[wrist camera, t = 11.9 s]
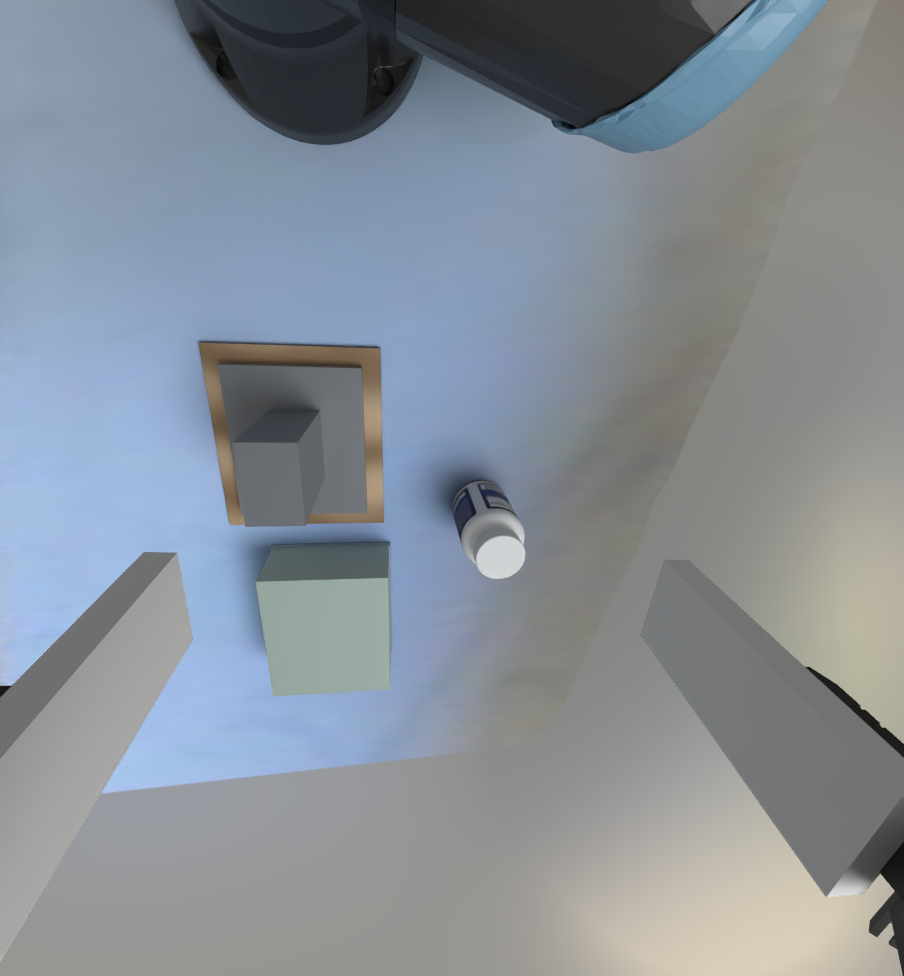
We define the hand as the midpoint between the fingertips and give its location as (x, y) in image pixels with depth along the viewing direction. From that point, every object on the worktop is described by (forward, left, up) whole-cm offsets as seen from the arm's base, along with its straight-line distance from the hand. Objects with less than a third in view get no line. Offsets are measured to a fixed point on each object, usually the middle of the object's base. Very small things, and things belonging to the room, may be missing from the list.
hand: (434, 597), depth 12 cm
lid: (+4, -9, -28) cm, 30 cm away
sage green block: (+21, -7, -29) cm, 36 cm away
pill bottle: (+11, +7, -29) cm, 31 cm away
